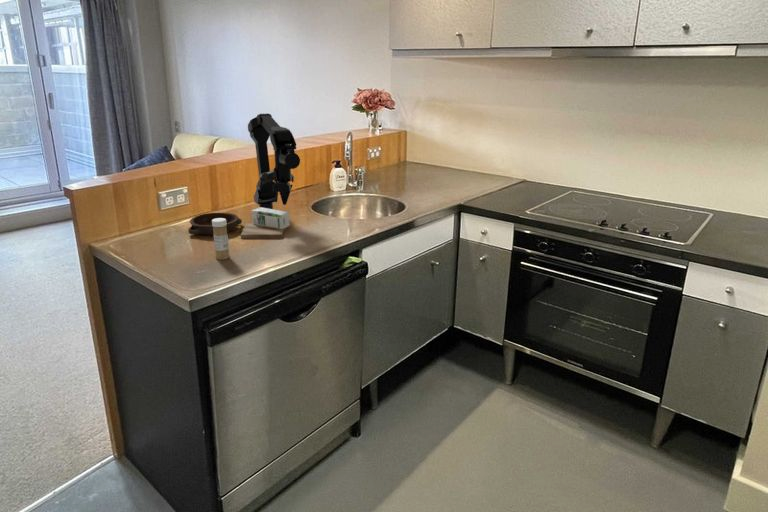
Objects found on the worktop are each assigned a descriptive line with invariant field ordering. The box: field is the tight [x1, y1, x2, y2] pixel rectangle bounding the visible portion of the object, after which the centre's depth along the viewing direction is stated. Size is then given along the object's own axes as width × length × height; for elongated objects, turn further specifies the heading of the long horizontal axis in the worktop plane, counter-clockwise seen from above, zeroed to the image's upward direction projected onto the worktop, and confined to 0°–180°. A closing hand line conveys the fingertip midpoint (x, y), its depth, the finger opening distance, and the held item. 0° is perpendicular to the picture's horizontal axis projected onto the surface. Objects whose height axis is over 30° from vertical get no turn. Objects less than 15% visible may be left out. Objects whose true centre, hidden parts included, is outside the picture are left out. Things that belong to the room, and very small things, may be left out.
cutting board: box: [240, 221, 286, 239], centre depth 203 cm, size 16×15×2 cm
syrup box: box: [250, 206, 291, 229], centre depth 206 cm, size 6×6×14 cm
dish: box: [187, 212, 243, 236], centre depth 203 cm, size 18×22×5 cm
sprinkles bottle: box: [212, 218, 230, 261], centre depth 174 cm, size 5×5×13 cm
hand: (284, 204), depth 201 cm, fingers closed
